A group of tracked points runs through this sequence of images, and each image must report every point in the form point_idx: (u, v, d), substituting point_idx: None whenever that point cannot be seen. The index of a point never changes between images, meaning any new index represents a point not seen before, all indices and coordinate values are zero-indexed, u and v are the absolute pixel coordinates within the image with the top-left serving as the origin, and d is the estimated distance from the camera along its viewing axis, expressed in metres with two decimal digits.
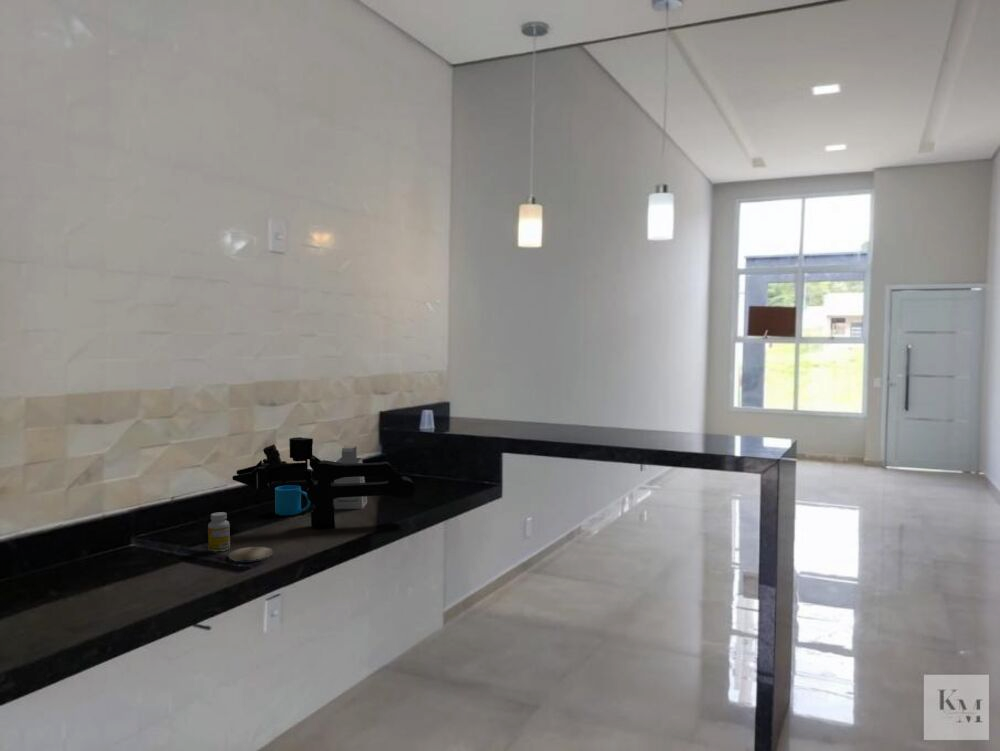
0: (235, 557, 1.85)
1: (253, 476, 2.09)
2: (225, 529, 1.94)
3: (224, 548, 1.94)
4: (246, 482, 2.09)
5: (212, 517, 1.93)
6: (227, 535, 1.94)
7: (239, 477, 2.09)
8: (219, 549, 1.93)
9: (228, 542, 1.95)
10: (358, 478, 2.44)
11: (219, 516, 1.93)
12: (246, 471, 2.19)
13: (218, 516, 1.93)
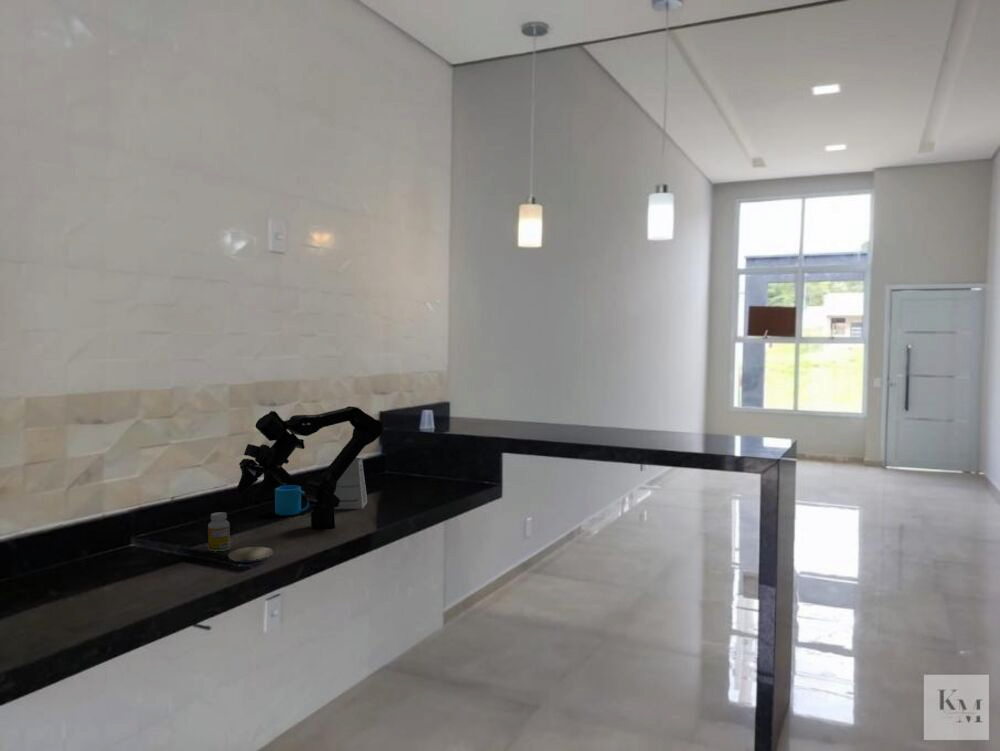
0: (235, 557, 1.85)
1: (269, 480, 1.99)
2: (225, 529, 1.94)
3: (224, 548, 1.94)
4: (268, 489, 1.99)
5: (212, 517, 1.93)
6: (227, 535, 1.94)
7: (259, 492, 1.98)
8: (219, 549, 1.93)
9: (228, 542, 1.95)
10: (358, 478, 2.44)
11: (219, 516, 1.93)
12: (243, 484, 2.05)
13: (218, 516, 1.93)
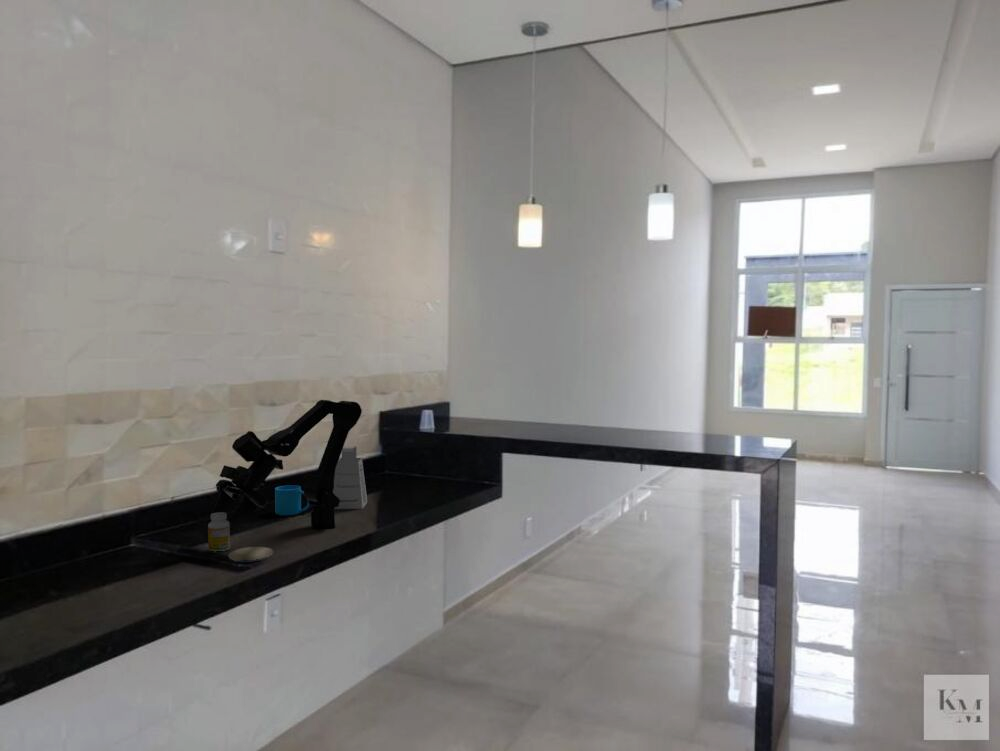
0: (235, 557, 1.85)
1: (245, 503, 1.94)
2: (225, 529, 1.94)
3: (224, 548, 1.94)
4: (244, 512, 1.94)
5: (212, 517, 1.93)
6: (226, 534, 1.94)
7: (235, 515, 1.93)
8: (219, 549, 1.93)
9: (228, 542, 1.95)
10: (358, 478, 2.44)
11: (219, 516, 1.93)
12: (219, 507, 2.00)
13: (218, 516, 1.93)
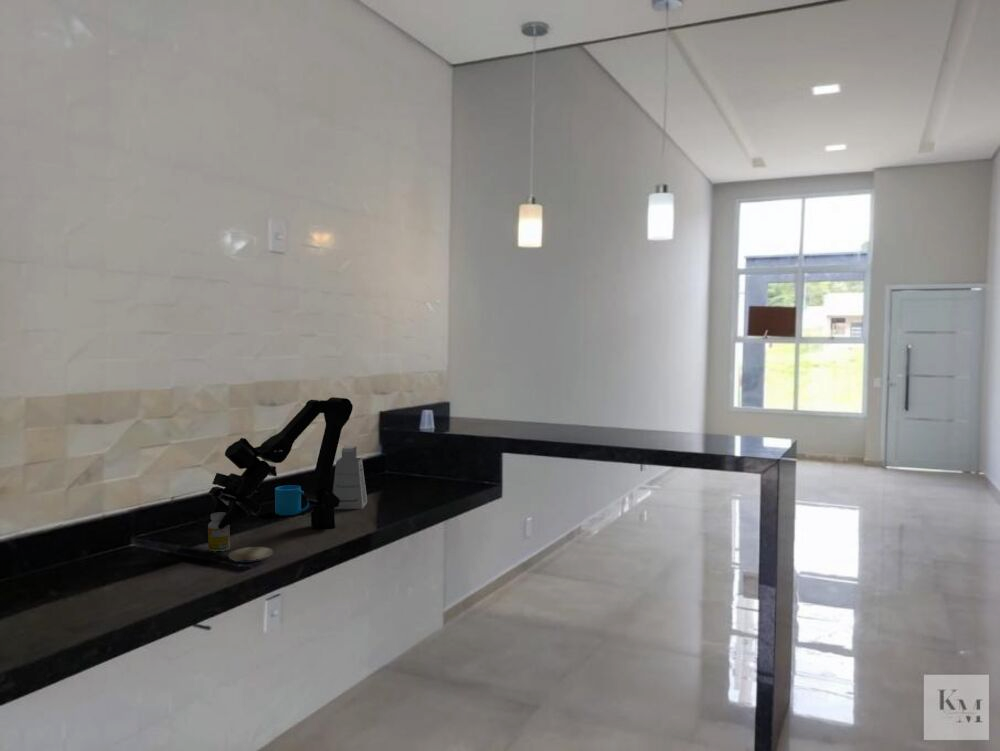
0: (235, 557, 1.85)
1: (234, 509, 1.94)
2: (225, 528, 1.94)
3: (224, 548, 1.94)
4: (234, 519, 1.94)
5: (212, 517, 1.93)
6: (226, 534, 1.94)
7: (225, 521, 1.92)
8: (219, 549, 1.93)
9: (228, 542, 1.95)
10: (358, 478, 2.44)
11: (219, 516, 1.93)
12: None
13: (218, 516, 1.93)
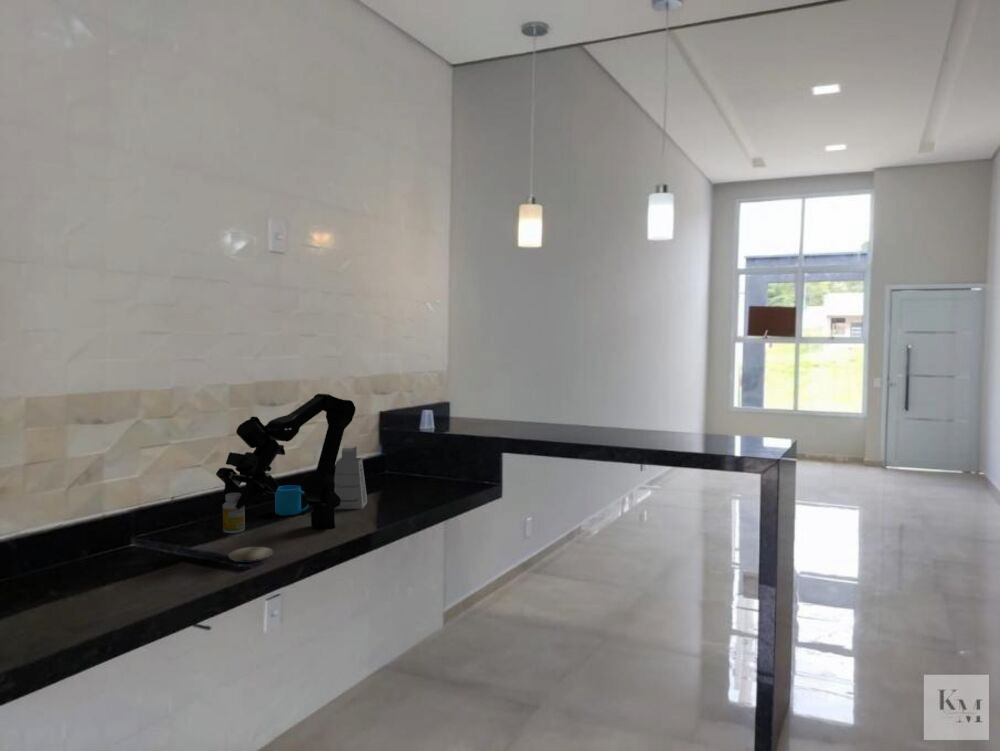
0: (235, 557, 1.85)
1: (251, 488, 1.91)
2: (242, 509, 1.90)
3: (241, 529, 1.90)
4: (251, 498, 1.91)
5: (228, 497, 1.89)
6: (243, 515, 1.91)
7: (242, 501, 1.89)
8: (236, 530, 1.89)
9: (244, 522, 1.91)
10: (358, 478, 2.44)
11: (235, 496, 1.89)
12: None
13: (234, 496, 1.89)
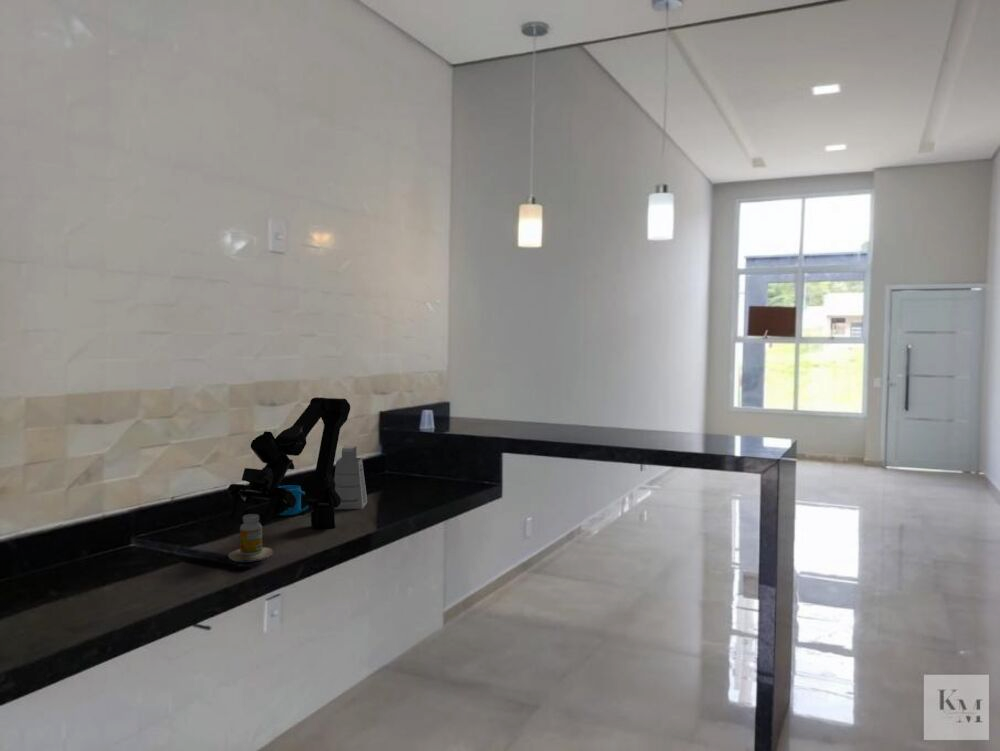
0: (235, 557, 1.85)
1: (274, 505, 1.89)
2: (260, 530, 1.88)
3: (260, 550, 1.88)
4: (274, 514, 1.89)
5: (247, 519, 1.87)
6: (261, 536, 1.89)
7: (267, 518, 1.86)
8: (255, 551, 1.87)
9: None
10: (358, 478, 2.44)
11: (254, 518, 1.87)
12: (237, 512, 1.90)
13: (253, 518, 1.87)
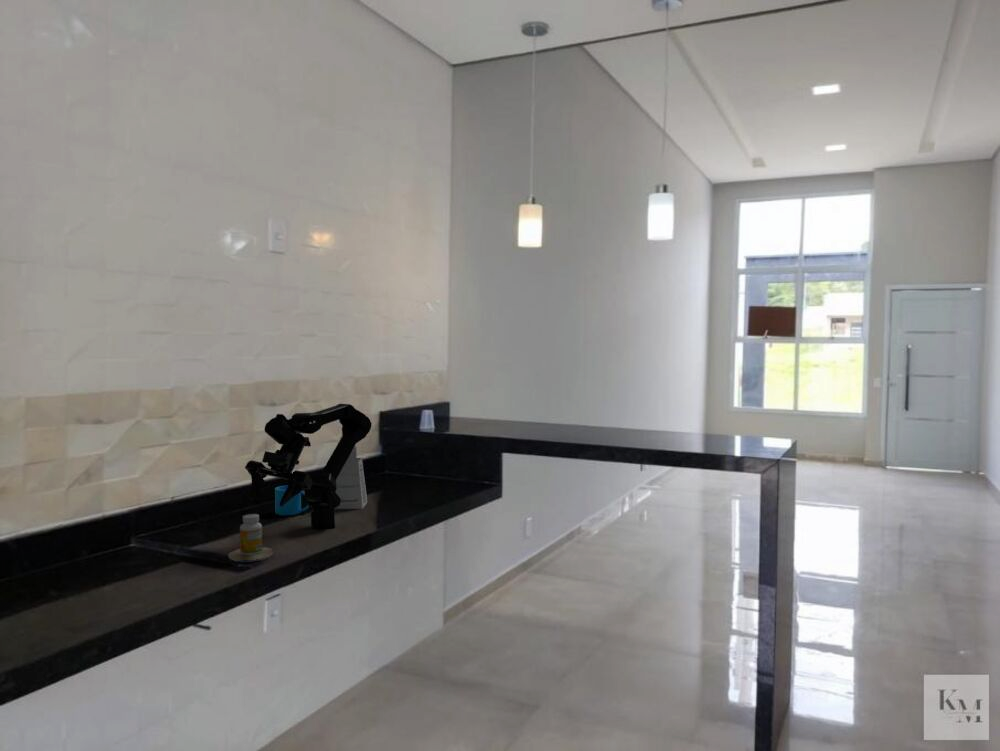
0: (235, 557, 1.85)
1: None
2: (260, 530, 1.88)
3: (260, 550, 1.88)
4: (292, 495, 2.00)
5: (246, 519, 1.87)
6: (261, 536, 1.89)
7: (285, 499, 1.98)
8: (255, 551, 1.87)
9: (261, 544, 1.90)
10: (358, 478, 2.44)
11: (254, 518, 1.87)
12: (255, 489, 2.01)
13: (253, 518, 1.87)
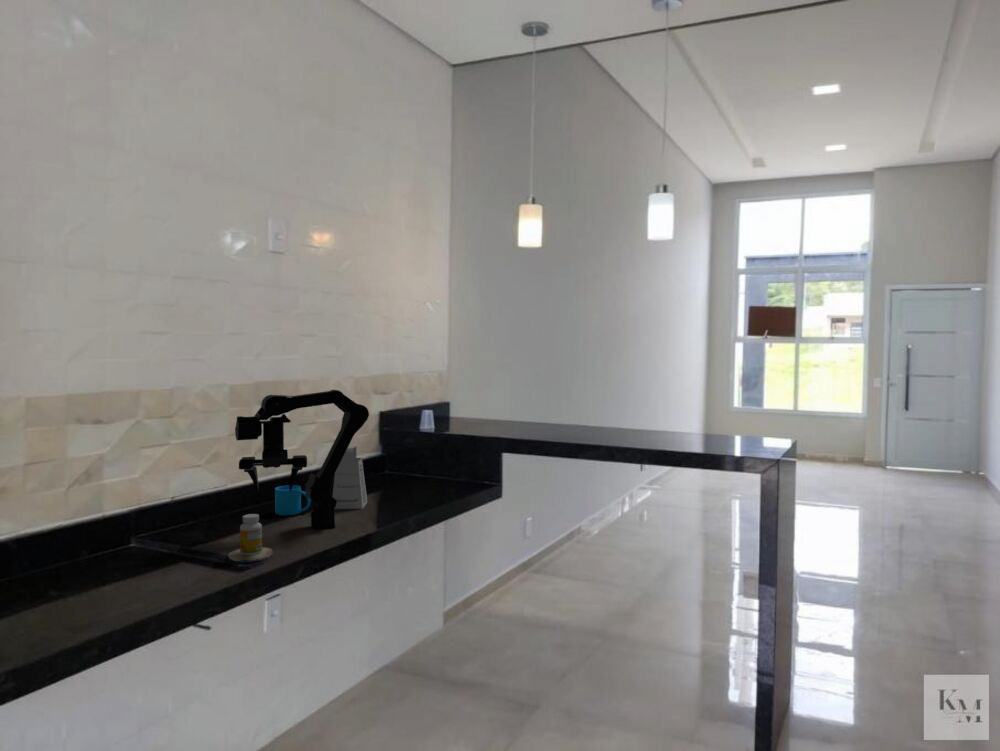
0: (235, 557, 1.85)
1: None
2: (260, 530, 1.88)
3: (260, 550, 1.88)
4: None
5: (246, 519, 1.87)
6: (261, 536, 1.89)
7: None
8: (255, 551, 1.87)
9: (261, 544, 1.90)
10: (358, 478, 2.44)
11: (254, 518, 1.87)
12: (257, 482, 2.11)
13: (253, 518, 1.87)
